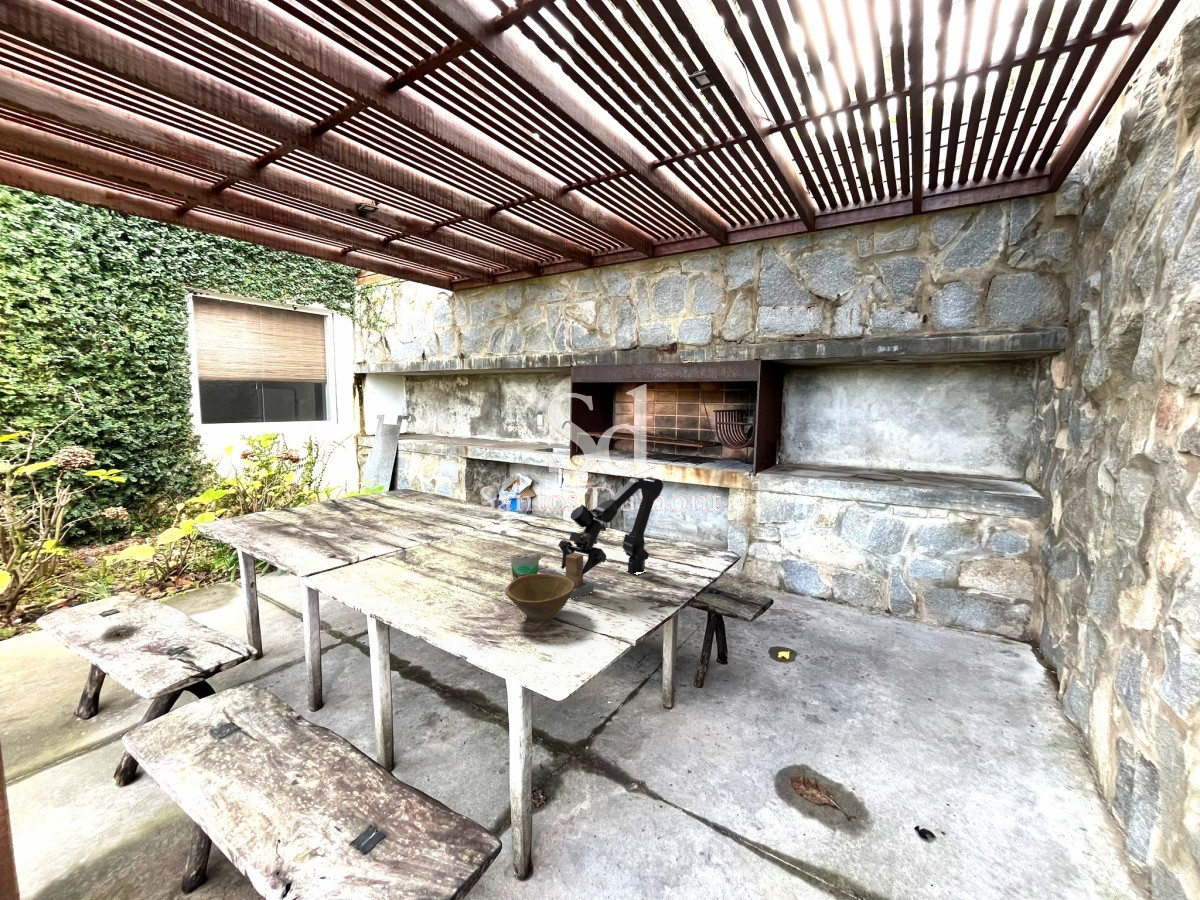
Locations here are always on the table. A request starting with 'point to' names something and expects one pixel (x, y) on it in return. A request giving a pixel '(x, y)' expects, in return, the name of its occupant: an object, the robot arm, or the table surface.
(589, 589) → the socket
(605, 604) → the table surface
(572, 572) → the tall wooden post
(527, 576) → the bowl
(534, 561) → the food container
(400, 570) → the table surface
